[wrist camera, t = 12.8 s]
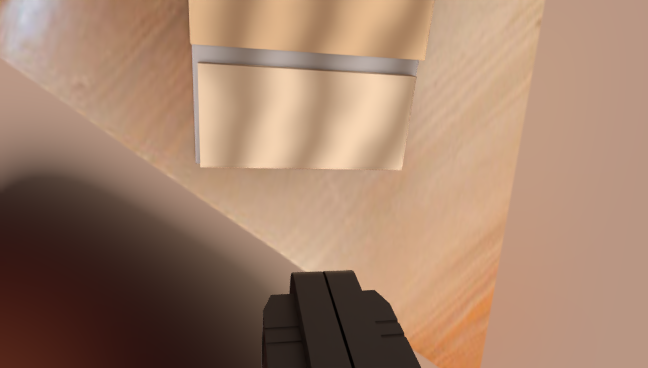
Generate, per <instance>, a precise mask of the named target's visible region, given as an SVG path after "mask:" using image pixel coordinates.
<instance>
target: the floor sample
mask: <svg viewBox="0 0 648 368" xmlns="http://www.w3.org/2000/svg"><path fill="white" fill-rule="evenodd" d="M434 1H435V0H189V25H190V44H192V65H193V94H194V124H195V153H196V163H200V137H199V101H198V64H197V63H198V62H214V63H230V64H247V65H263V66H279V67H295V68H311V69H327V70H343V71H360V72H376V73H392V74H408V75H413V76H416V73H417V67H418V61H419V60H424V59H425V54H426V48H427V42H428V36H429V30H430V25H431V19H432V13H433V7H434Z"/></svg>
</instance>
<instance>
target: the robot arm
mask: <svg viewBox="0 0 648 368" xmlns="http://www.w3.org/2000/svg"><path fill="white" fill-rule="evenodd" d="M262 368H421V366H420V364H419V362H418V360H417V358H416V357H415V354H414V352H413V350H412V348H411V346H410V344H409V342H408V340H407V338H406V337H404V332H403V330H402V328H401V326H400V324H399V323H398V321H397V318H396V316H395V314H394V311H393V309H392V307H391V305H390V303H388V302H387V301H386V300H385V299H384V298H383V297H382V296H381V295H380V294H378V293H377V292H376V291H375V290H366V291H362V289H361V287H360V285H359V282H358V280H357V278H356V275H355V273H354V271H352V270H346V271H323V272H295V273H294V272H293V273H291V279H290V294H281V295H271V296H270V298H269V300H268V302H267V304H266V306H265V308H264V310H263V332H262Z"/></svg>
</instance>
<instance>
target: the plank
mask: <svg viewBox="0 0 648 368" xmlns="http://www.w3.org/2000/svg"><path fill="white" fill-rule="evenodd" d="M197 64H198V101H199V137H200V167H219V168H290V169H362V170H402V165H403V158H404V152H405V146H406V140H407V133H408V127H409V121H410V114H411V108H412V102H413V96H414V89H415V83H416V76H413V75H408V74H392V73H376V72H360V71H343V70H327V69H311V68H295V67H279V66H263V65H247V64H230V63H214V62H198V63H197Z"/></svg>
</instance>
